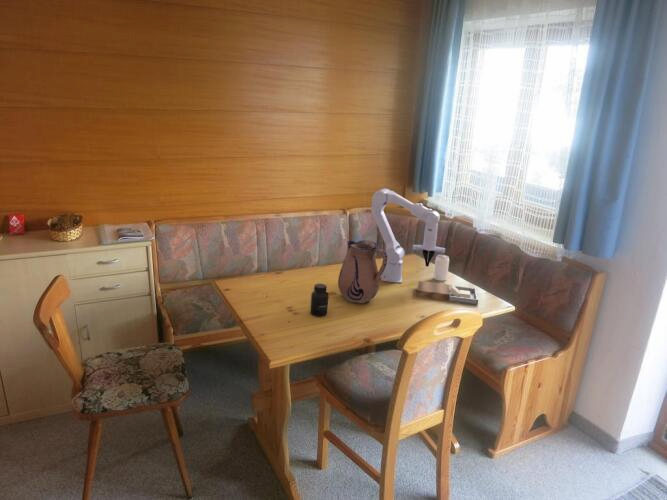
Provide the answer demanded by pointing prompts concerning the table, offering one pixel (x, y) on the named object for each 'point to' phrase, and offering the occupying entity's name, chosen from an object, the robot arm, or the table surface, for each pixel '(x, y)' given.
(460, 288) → the tray
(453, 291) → the tile
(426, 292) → the brown board
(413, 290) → the table surface
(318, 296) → the supplement bottle
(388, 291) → the table surface
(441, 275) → the can
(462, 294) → the tile
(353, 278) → the ceramic pitcher
